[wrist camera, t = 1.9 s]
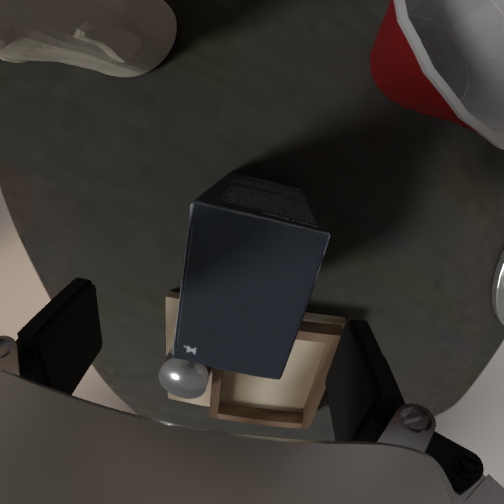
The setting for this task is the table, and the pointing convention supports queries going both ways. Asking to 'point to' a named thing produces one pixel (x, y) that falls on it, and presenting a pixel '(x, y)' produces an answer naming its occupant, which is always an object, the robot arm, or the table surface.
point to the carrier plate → (257, 388)
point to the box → (247, 275)
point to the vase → (88, 33)
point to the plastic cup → (445, 61)
